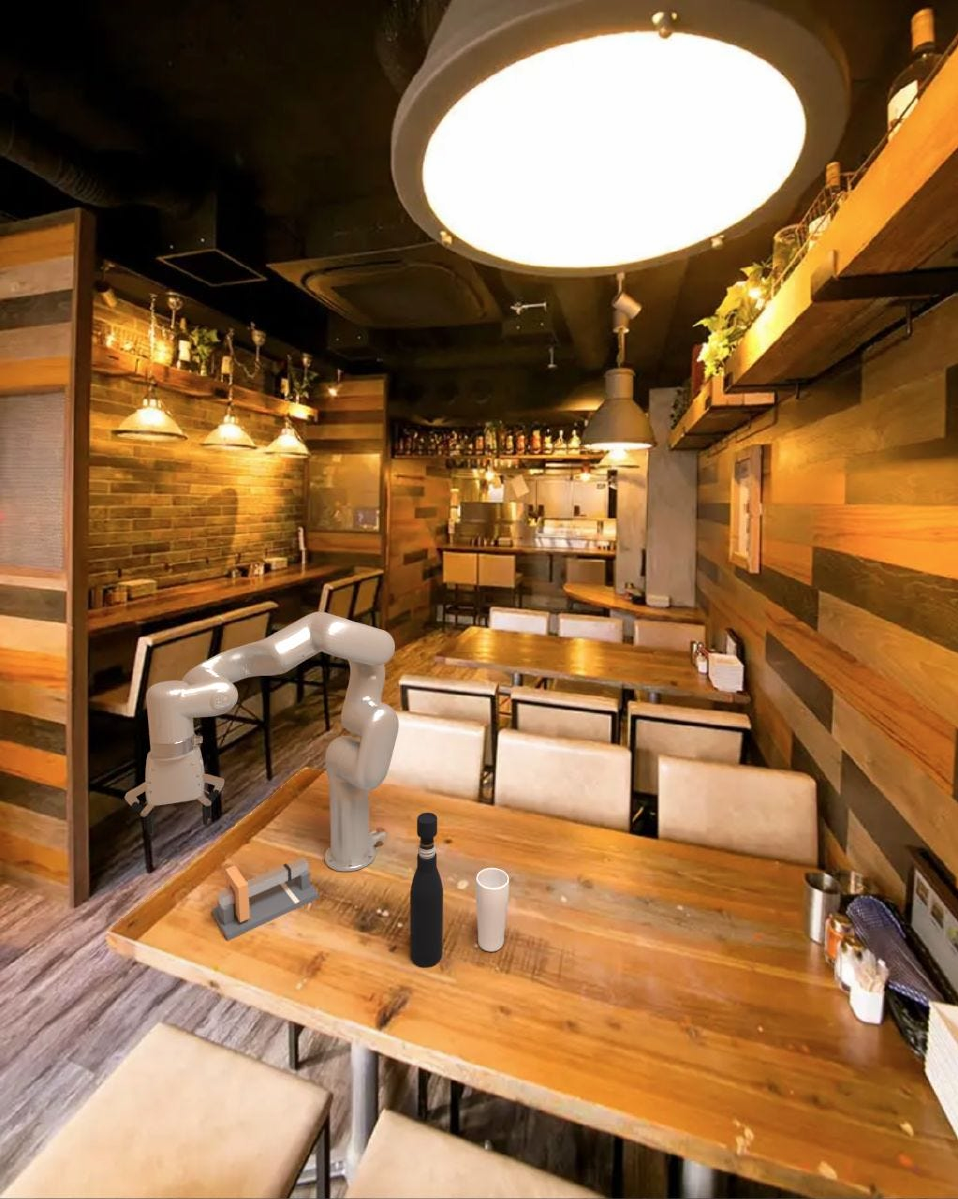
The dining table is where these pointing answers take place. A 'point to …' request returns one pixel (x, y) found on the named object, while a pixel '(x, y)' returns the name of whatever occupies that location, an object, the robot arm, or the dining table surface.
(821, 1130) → the dining table surface
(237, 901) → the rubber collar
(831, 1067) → the dining table surface
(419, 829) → the black bottle
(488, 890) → the drinking glass
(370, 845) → the robot arm
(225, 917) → the pipe board
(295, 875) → the grey long bar
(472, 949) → the dining table surface
